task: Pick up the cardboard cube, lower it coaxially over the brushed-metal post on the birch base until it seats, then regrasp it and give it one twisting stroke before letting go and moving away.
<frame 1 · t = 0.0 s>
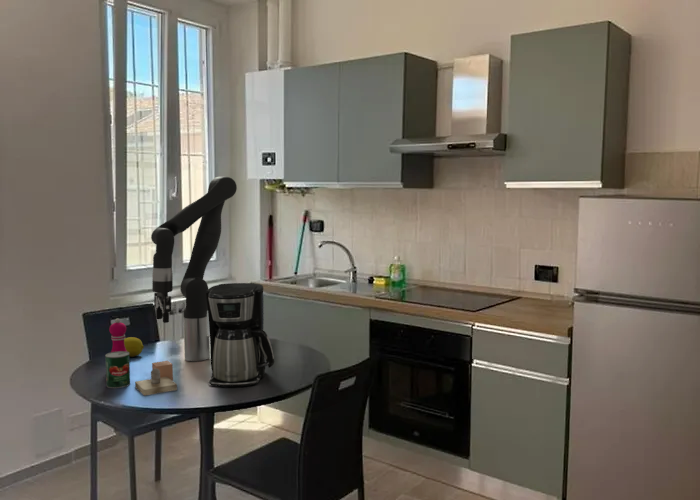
hand: (162, 320, 245), 17 cm above the table, tool pointing down, fingers open, 8 cm apart
coffee maker: (246, 376, 230), on the table
cardboard cube: (162, 379, 225), on the table
pepper mill: (119, 371, 237), on the table
lemon: (131, 356, 258), on the table
canned tomato: (118, 385, 219), on the table
post base: (156, 388, 215), on the table
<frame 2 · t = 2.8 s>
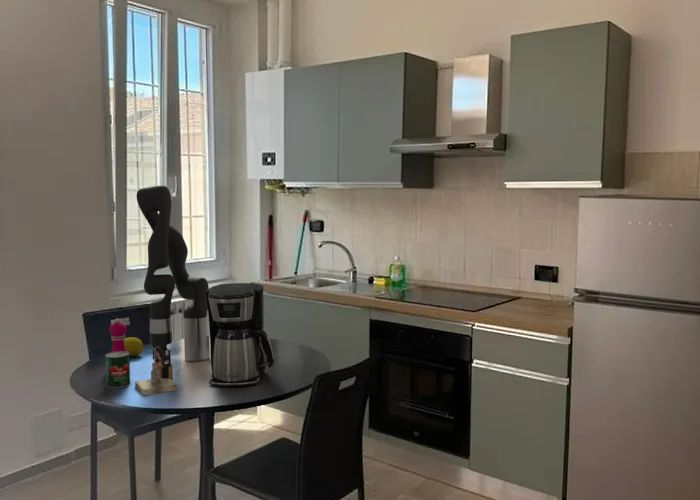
hand: (161, 375, 224), 2 cm above the table, tool pointing down, fingers open, 8 cm apart
nothing on the table moved.
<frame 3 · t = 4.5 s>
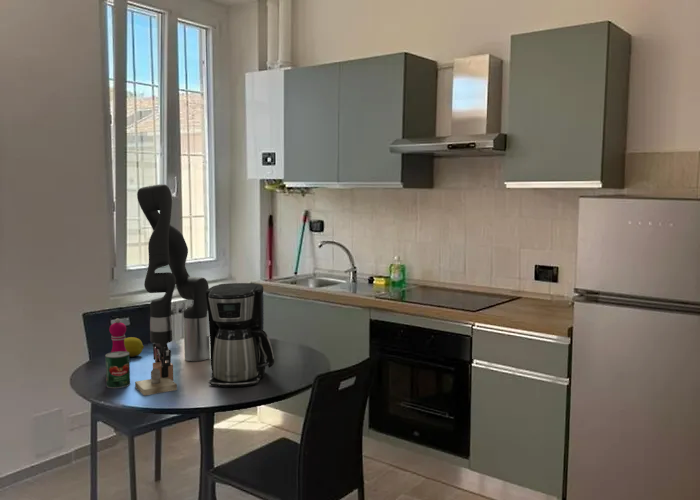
hand: (162, 374, 224), 2 cm above the table, tool pointing down, fingers closed on cardboard cube, 6 cm apart
cardboard cube: (163, 379, 225), on the table, touching gripper, post base
everything else where it was.
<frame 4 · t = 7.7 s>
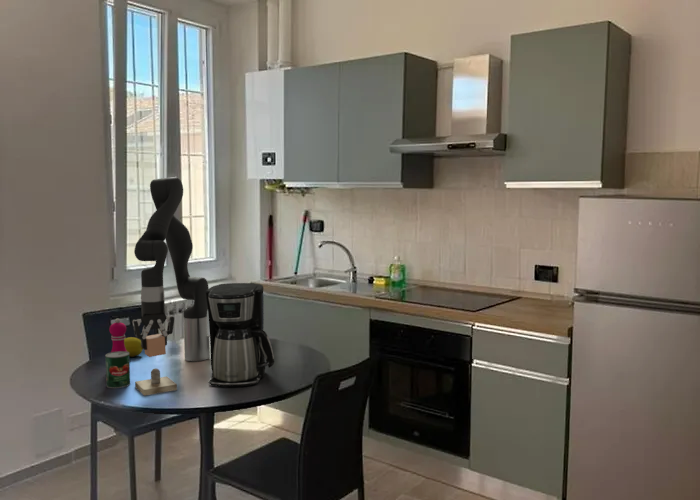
hand: (154, 347, 214), 14 cm above the table, tool pointing down, fingers closed on cardboard cube, 5 cm apart
cardboard cube: (155, 353, 214), point 12 cm above the table, touching gripper
everything else where it was.
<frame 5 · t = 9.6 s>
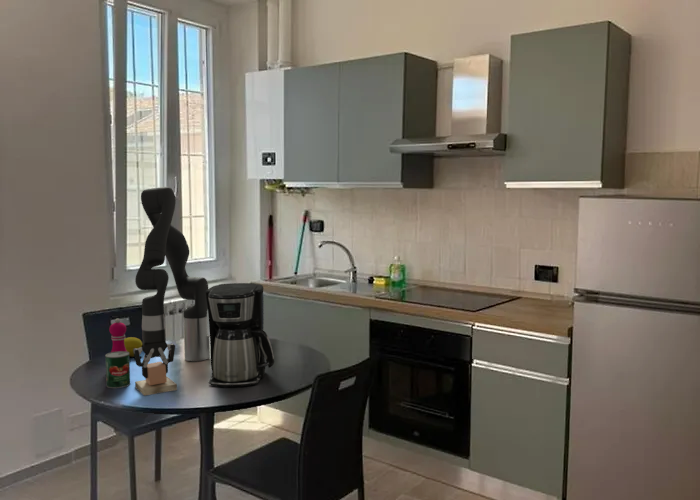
hand: (155, 375, 214), 4 cm above the table, tool pointing down, fingers closed on cardboard cube, 5 cm apart
cardboard cube: (156, 381, 214), point 2 cm above the table, touching gripper
everything else where it was.
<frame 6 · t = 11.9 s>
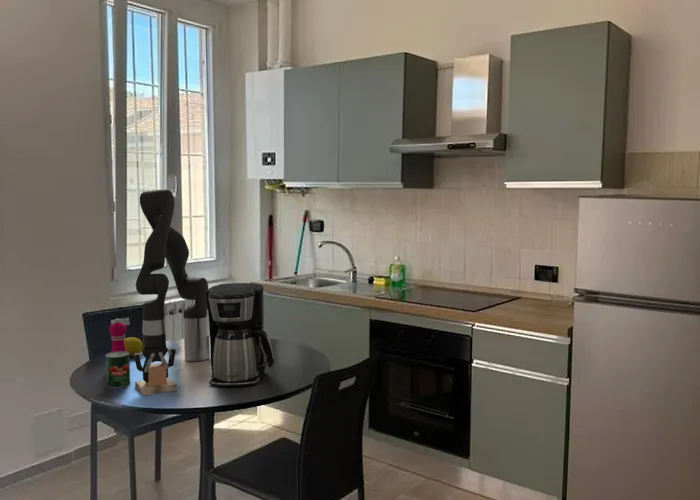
hand: (155, 380, 215), 3 cm above the table, tool pointing down, fingers closed on cardboard cube, 5 cm apart
cardboard cube: (156, 383, 214), point 2 cm above the table, touching gripper, post base
everything else where it was.
when the fingers open (3 cm above the table, at t = 14.1 s): cardboard cube stays where it is, resting on post base.
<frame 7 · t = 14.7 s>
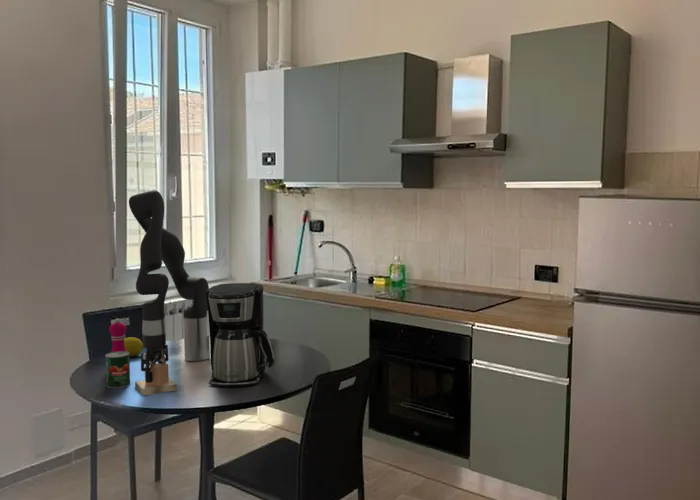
hand: (155, 378, 215), 3 cm above the table, tool pointing down, fingers open, 8 cm apart
cardboard cube: (157, 382, 215), point 2 cm above the table, touching post base
everything else where it was.
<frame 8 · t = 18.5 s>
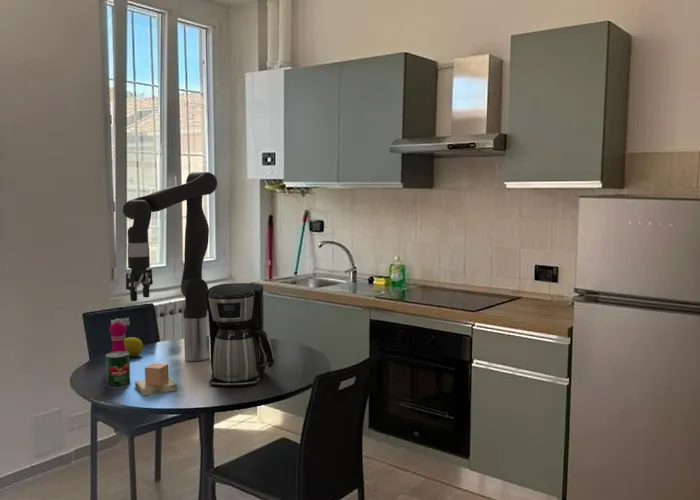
hand: (140, 299, 230), 28 cm above the table, tool pointing down, fingers open, 8 cm apart
nothing on the table moved.
at the end: cardboard cube 0.6 cm off-centre on the post base, point 2.0 cm above the post base's base; cardboard cube tilted 0°; the gripper is holding nothing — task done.
